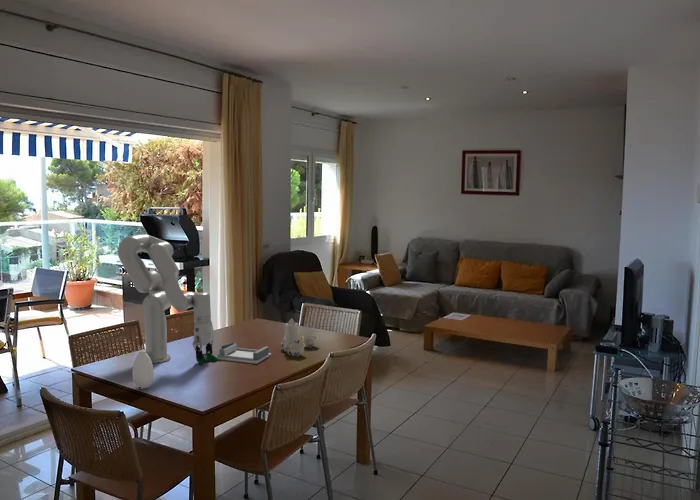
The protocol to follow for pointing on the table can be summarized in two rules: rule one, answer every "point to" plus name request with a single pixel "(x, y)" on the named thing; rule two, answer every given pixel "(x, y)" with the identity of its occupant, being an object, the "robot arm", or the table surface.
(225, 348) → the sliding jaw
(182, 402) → the table surface
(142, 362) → the white tall teardrop piece
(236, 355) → the vise base
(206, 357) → the gaming controller
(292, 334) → the chinaware
